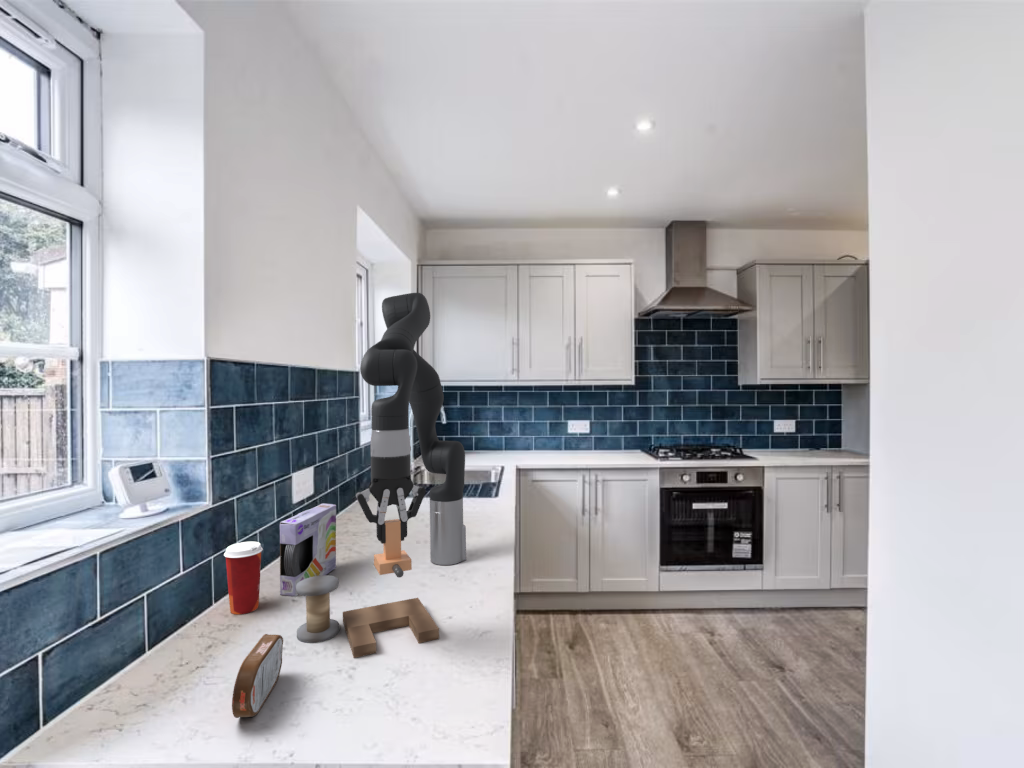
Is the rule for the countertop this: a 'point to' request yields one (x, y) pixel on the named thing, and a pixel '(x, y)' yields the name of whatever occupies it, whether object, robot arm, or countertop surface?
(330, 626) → the bobbin
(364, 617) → the brown flat u-shaped block
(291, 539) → the cake pan box
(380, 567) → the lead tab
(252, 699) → the tin
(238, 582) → the paper cup
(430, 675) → the countertop surface
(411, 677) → the countertop surface
